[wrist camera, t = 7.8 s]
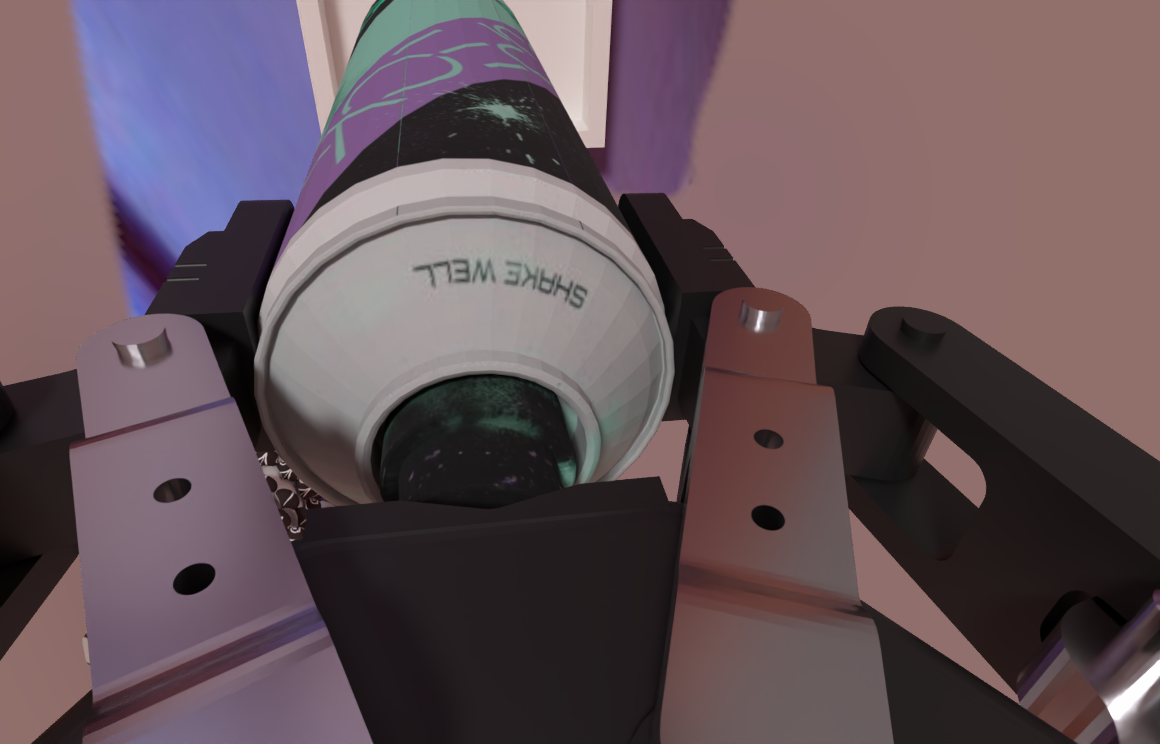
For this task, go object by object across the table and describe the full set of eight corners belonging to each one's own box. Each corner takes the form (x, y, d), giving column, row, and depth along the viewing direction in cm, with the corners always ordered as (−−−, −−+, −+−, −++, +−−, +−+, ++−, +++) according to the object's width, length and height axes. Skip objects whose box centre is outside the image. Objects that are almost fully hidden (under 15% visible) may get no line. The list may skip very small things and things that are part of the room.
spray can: (554, 104, 24) (797, 586, 8) (415, 173, 25) (398, 745, 9) (480, -66, 21) (654, 203, 5) (321, 18, 21) (31, 495, 6)
